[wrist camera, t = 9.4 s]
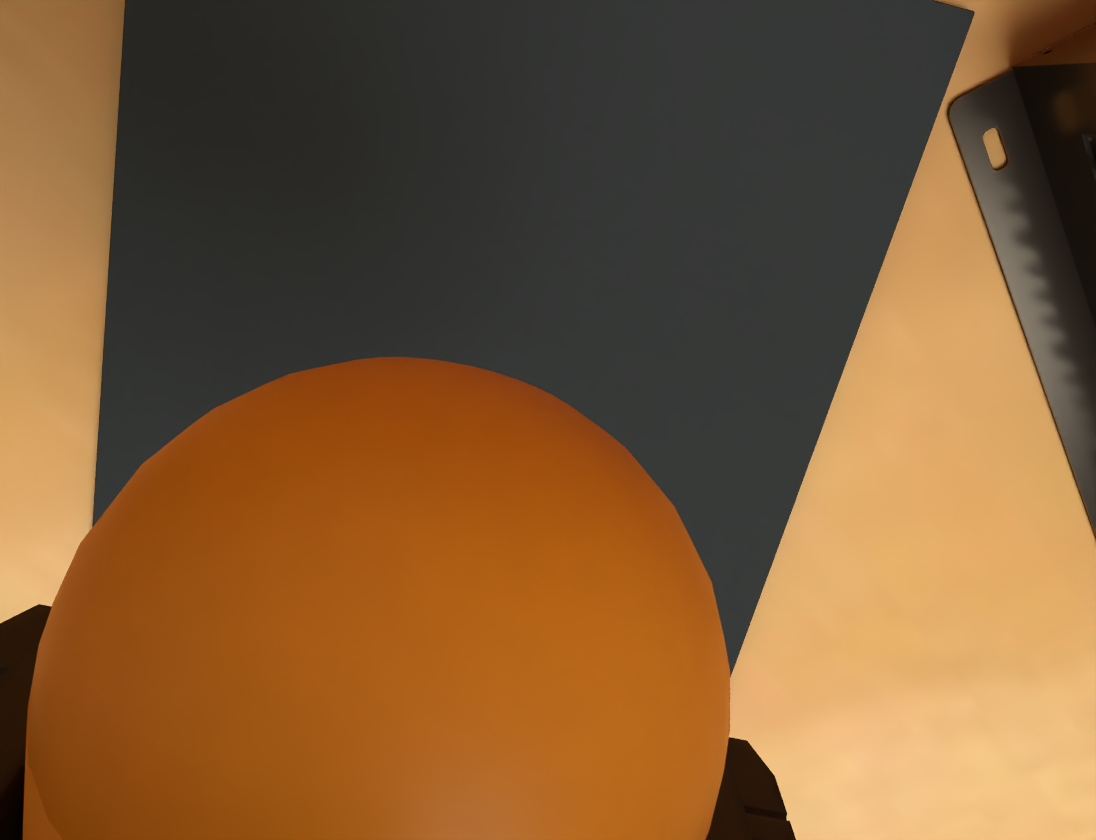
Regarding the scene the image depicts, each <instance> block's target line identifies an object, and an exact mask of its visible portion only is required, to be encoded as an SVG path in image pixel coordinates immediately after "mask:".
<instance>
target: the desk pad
mask: <svg viewBox="0 0 1096 840" xmlns="http://www.w3.org/2000/svg"><path fill="white" fill-rule="evenodd" d="M973 16H974V11H971V10H967V9H963V8H960V7H956V6H952V5H949V4H945V3H941V2H938V1H934V0H125V13H124V29H123V45H122V61H121V77H120V93H119V109H118V125H117V142H116V158H115V174H114V190H113V206H112V222H111V238H110V254H109V270H108V286H107V302H106V318H105V334H104V350H103V366H102V382H101V398H100V414H99V430H98V446H97V462H96V478H95V494H94V510H93V526H94V525H95V524H96V522H97V521H98V520H99V518H100V517H101V516H102V515H103V513H104V512H105V511H106V509H107V508H108V507H109V506H110V504H111V503H112V502H113V501H114V499H115V498H116V497H117V495H118V494H119V493H120V492H121V490H122V489H123V488H124V487H125V485H126V484H127V483H128V481H129V480H130V479H131V478H132V476H133V475H134V474H135V473H136V471H137V470H138V469H139V467H140V466H141V465H142V464H143V463H144V462H145V461H147V460H148V459H149V458H150V457H152V456H153V455H154V454H155V453H157V452H158V451H159V450H160V449H162V448H163V447H164V446H165V445H167V444H168V443H169V442H170V441H172V440H173V439H174V438H175V437H177V436H178V435H179V434H180V433H182V432H183V431H184V430H185V429H187V428H188V427H189V426H190V425H192V424H193V423H194V422H196V421H197V420H199V419H200V418H201V417H203V416H204V415H206V414H207V413H208V412H210V411H211V410H213V409H214V408H216V407H218V406H220V405H222V404H224V403H227V402H229V401H231V400H233V399H235V398H237V397H239V396H241V395H243V394H246V393H248V392H250V391H252V390H254V389H256V388H258V387H260V386H262V385H264V384H267V383H269V382H271V381H274V380H276V379H278V378H281V377H283V376H286V375H288V374H292V373H296V372H300V371H304V370H309V369H313V368H318V367H323V366H328V365H333V364H338V363H343V362H348V361H353V360H359V359H367V358H376V357H410V358H425V359H433V360H440V361H448V362H453V363H458V364H463V365H469V366H473V367H477V368H481V369H485V370H489V371H493V372H496V373H499V374H502V375H505V376H508V377H512V378H515V379H517V380H520V381H522V382H525V383H527V384H530V385H532V386H535V387H537V388H539V389H541V390H543V391H545V392H547V393H549V394H552V395H554V396H555V397H557V398H559V399H560V400H562V401H563V402H565V403H567V404H568V405H570V406H571V407H573V408H574V409H576V410H577V411H578V412H580V413H581V414H582V415H584V416H585V417H587V418H588V419H589V420H591V421H592V422H593V423H595V424H596V425H598V426H599V427H600V428H602V429H603V430H604V431H606V432H607V433H608V434H610V435H611V436H612V437H613V438H615V439H616V440H617V441H618V442H619V443H621V444H622V445H623V446H624V447H626V449H627V450H628V451H629V452H630V453H631V454H632V456H633V457H634V458H635V459H636V460H637V461H638V463H639V464H640V465H641V466H642V467H643V469H644V470H645V471H646V472H647V474H648V475H649V476H650V477H651V478H652V480H653V481H654V482H655V483H656V485H657V486H658V487H659V488H660V489H661V491H662V492H663V493H664V494H665V495H666V497H667V498H668V499H669V500H670V502H671V503H672V504H673V505H674V506H675V508H676V510H677V512H678V514H679V516H680V518H681V520H682V522H683V524H684V526H685V528H686V530H687V532H688V534H689V536H690V538H691V541H692V543H693V545H694V547H695V549H696V551H697V553H698V555H699V557H700V559H701V561H702V563H703V565H704V567H705V569H706V571H707V573H708V575H709V578H710V580H711V582H712V586H713V591H714V595H715V599H716V604H717V608H718V612H719V617H720V621H721V625H722V630H723V634H724V639H725V645H726V651H727V657H728V662H729V668H730V677H731V674H732V671H733V669H734V666H735V663H736V660H737V658H738V655H739V652H740V650H741V647H742V644H743V641H744V639H745V636H746V633H747V631H748V628H749V625H750V622H751V620H752V617H753V614H754V612H755V609H756V606H757V603H758V601H759V598H760V595H761V592H762V590H763V587H764V584H765V582H766V579H767V576H768V573H769V571H770V568H771V565H772V563H773V560H774V557H775V554H776V552H777V549H778V546H779V544H780V541H781V538H782V535H783V533H784V530H785V527H786V525H787V522H788V519H789V516H790V514H791V511H792V508H793V505H794V503H795V500H796V497H797V495H798V492H799V489H800V486H801V484H802V481H803V478H804V476H805V473H806V470H807V467H808V465H809V462H810V459H811V457H812V454H813V451H814V448H815V446H816V443H817V440H818V438H819V435H820V432H821V429H822V427H823V424H824V421H825V418H826V416H827V413H828V410H829V408H830V405H831V402H832V399H833V397H834V394H835V391H836V389H837V386H838V383H839V380H840V378H841V375H842V372H843V370H844V367H845V364H846V361H847V359H848V356H849V353H850V351H851V348H852V345H853V342H854V340H855V337H856V334H857V331H858V329H859V326H860V323H861V321H862V318H863V315H864V312H865V310H866V307H867V304H868V302H869V299H870V296H871V293H872V291H873V288H874V285H875V283H876V280H877V277H878V274H879V272H880V269H881V266H882V264H883V261H884V258H885V255H886V253H887V250H888V247H889V244H890V242H891V239H892V236H893V234H894V231H895V228H896V225H897V223H898V220H899V217H900V215H901V212H902V209H903V206H904V204H905V201H906V198H907V196H908V193H909V190H910V187H911V185H912V182H913V179H914V177H915V174H916V171H917V168H918V166H919V163H920V160H921V157H922V155H923V152H924V149H925V147H926V144H927V141H928V138H929V136H930V133H931V130H932V128H933V125H934V122H935V119H936V117H937V114H938V111H939V109H940V106H941V103H942V100H943V98H944V95H945V92H946V89H947V87H948V84H949V81H950V79H951V76H952V73H953V70H954V68H955V65H956V62H957V60H958V57H959V54H960V51H961V49H962V46H963V43H964V41H965V38H966V35H967V32H968V30H969V27H970V24H971V22H972V19H973ZM93 526H92V528H93Z"/></svg>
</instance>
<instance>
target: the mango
mask: <svg viewBox="0 0 1096 840" xmlns="http://www.w3.org/2000/svg"><path fill="white" fill-rule="evenodd" d="M729 732H730V668H729V662H728V657H727V651H726V645H725V639H724V634H723V630H722V625H721V621H720V617H719V612H718V608H717V604H716V599H715V595H714V591H713V586H712V582H711V580H710V578H709V575H708V573H707V571H706V569H705V567H704V565H703V563H702V561H701V559H700V557H699V555H698V553H697V551H696V549H695V547H694V545H693V543H692V541H691V538H690V536H689V534H688V532H687V530H686V528H685V526H684V524H683V522H682V520H681V518H680V516H679V514H678V512H677V510H676V508H675V506H674V505H673V504H672V503H671V502H670V500H669V499H668V498H667V497H666V495H665V494H664V493H663V492H662V491H661V489H660V488H659V487H658V486H657V485H656V483H655V482H654V481H653V480H652V478H651V477H650V476H649V475H648V474H647V472H646V471H645V470H644V469H643V467H642V466H641V465H640V464H639V463H638V461H637V460H636V459H635V458H634V457H633V456H632V454H631V453H630V452H629V451H628V450H627V449H626V447H624V446H623V445H622V444H621V443H619V442H618V441H617V440H616V439H615V438H613V437H612V436H611V435H610V434H608V433H607V432H606V431H604V430H603V429H602V428H600V427H599V426H598V425H596V424H595V423H593V422H592V421H591V420H589V419H588V418H587V417H585V416H584V415H582V414H581V413H580V412H578V411H577V410H576V409H574V408H573V407H571V406H570V405H568V404H567V403H565V402H563V401H562V400H560V399H559V398H557V397H555V396H554V395H552V394H549V393H547V392H545V391H543V390H541V389H539V388H537V387H535V386H532V385H530V384H527V383H525V382H522V381H520V380H517V379H515V378H512V377H508V376H505V375H502V374H499V373H496V372H493V371H489V370H485V369H481V368H477V367H473V366H469V365H463V364H458V363H453V362H448V361H440V360H433V359H425V358H410V357H376V358H367V359H359V360H353V361H348V362H343V363H338V364H333V365H328V366H323V367H318V368H313V369H309V370H304V371H300V372H296V373H292V374H288V375H286V376H283V377H281V378H278V379H276V380H274V381H271V382H269V383H267V384H264V385H262V386H260V387H258V388H256V389H254V390H252V391H250V392H248V393H246V394H243V395H241V396H239V397H237V398H235V399H233V400H231V401H229V402H227V403H224V404H222V405H220V406H218V407H216V408H214V409H213V410H211V411H210V412H208V413H207V414H206V415H204V416H203V417H201V418H200V419H199V420H197V421H196V422H194V423H193V424H192V425H190V426H189V427H188V428H187V429H185V430H184V431H183V432H182V433H180V434H179V435H178V436H177V437H175V438H174V439H173V440H172V441H170V442H169V443H168V444H167V445H165V446H164V447H163V448H162V449H160V450H159V451H158V452H157V453H155V454H154V455H153V456H152V457H150V458H149V459H148V460H147V461H145V462H144V463H143V464H142V465H141V466H140V467H139V469H138V470H137V471H136V473H135V474H134V475H133V476H132V478H131V479H130V480H129V481H128V483H127V484H126V485H125V487H124V488H123V489H122V490H121V492H120V493H119V494H118V495H117V497H116V498H115V499H114V501H113V502H112V503H111V504H110V506H109V507H108V508H107V509H106V511H105V512H104V513H103V515H102V516H101V517H100V518H99V520H98V521H97V522H96V524H95V525H94V526H93V528H92V529H91V530H90V531H89V533H88V534H87V535H86V537H85V538H84V539H83V540H82V542H81V543H80V545H79V547H78V549H77V551H76V554H75V556H74V558H73V560H72V562H71V565H70V567H69V569H68V571H67V573H66V576H65V578H64V580H63V582H62V584H61V586H60V589H59V591H58V593H57V595H56V597H55V600H54V602H53V605H52V608H51V611H50V614H49V617H48V619H47V622H46V625H45V628H44V631H43V634H42V637H41V640H40V643H39V646H38V652H37V658H36V663H35V669H34V675H33V681H32V686H31V692H30V698H29V703H28V713H27V732H26V754H25V783H24V812H23V840H706V837H707V835H708V832H709V829H710V825H711V821H712V817H713V813H714V809H715V805H716V801H717V797H718V793H719V789H720V785H721V781H722V777H723V773H724V767H725V760H726V753H727V746H728V739H729Z"/></svg>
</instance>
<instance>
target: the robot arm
mask: <svg viewBox="0 0 1096 840" xmlns="http://www.w3.org/2000/svg"><path fill="white" fill-rule="evenodd" d="M51 608H52V607H50V606H45V605H40V604H39V605H37V606H34V607H32V608H30V609H28V610H26V611H24V612H22V613H20V614H18V615H16V616H14V617H12V618H10V619H8V620H6V621H4V622H2V623H0V840H23V812H24V783H25V754H26V732H27V713H28V703H29V698H30V692H31V686H32V681H33V675H34V669H35V663H36V658H37V652H38V646H39V643H40V640H41V637H42V634H43V631H44V628H45V625H46V622H47V619H48V617H49V614H50V611H51ZM786 816H787V812H786V809H785V806H784V803H783V800H782V797H781V794H780V791H779V788H778V785H777V782H776V779H775V776H774V775H773V773H772V772H771V771H770V770H769V768H768V767H767V766H766V764H765V763H764V762H763V761H762V759H761V758H760V757H759V755H758V754H757V753H756V752H755V750H754V749H753V748H752V747H751V745H750V744H749V743H748V741H746V740H740V739H735V738H730V737H729V739H728V746H727V753H726V760H725V767H724V773H723V777H722V781H721V785H720V789H719V793H718V797H717V801H716V805H715V809H714V813H713V817H712V821H711V825H710V829H709V832H708V835H707V837H706V840H796V838H795V836H794V833H793V830H792V827H791V824H790V821H787V820H786Z"/></svg>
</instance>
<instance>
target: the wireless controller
mask: <svg viewBox="0 0 1096 840" xmlns="http://www.w3.org/2000/svg"><path fill="white" fill-rule="evenodd" d="M1012 69H1013V70H1011V71H1009V72H1007V73H1005V74H1003V75H1001V76H999V77H997V78H996V79H994V80H992V81H990V82H988V83H986V84H984V85H982V86H980V87H978V88H976V89H975V90H973V91H971V92H969V93H967V94H965V95H963V96H961V97H959V98H958V99H956V100H955V101H954V102H953V104H952V105H951V107H950V110H949V121H950V123H951V126H952V129H953V132H954V135H955V138H956V140H957V143H958V146H959V149H960V152H961V155H962V158H963V160H964V163H965V166H966V169H967V172H968V175H969V178H970V180H971V183H972V186H973V189H974V192H975V195H976V198H977V200H978V203H979V206H980V209H981V212H982V215H983V217H984V220H985V223H986V226H987V229H988V232H989V235H990V237H991V240H992V243H993V246H994V249H995V252H996V255H997V257H998V260H999V263H1000V266H1001V269H1002V272H1003V275H1004V277H1005V280H1006V283H1007V286H1008V289H1009V292H1010V294H1011V297H1012V300H1013V303H1014V306H1015V309H1016V312H1017V314H1018V317H1019V320H1020V323H1021V326H1022V329H1023V332H1024V334H1025V337H1026V340H1027V343H1028V346H1029V349H1030V352H1031V354H1032V357H1033V360H1034V363H1035V366H1036V369H1037V371H1038V374H1039V377H1040V380H1041V383H1042V386H1043V389H1044V391H1045V394H1046V397H1047V400H1048V403H1049V406H1050V409H1051V411H1052V414H1053V417H1054V420H1055V423H1056V426H1057V429H1058V431H1059V434H1060V437H1061V440H1062V443H1063V446H1064V448H1065V451H1066V454H1067V457H1068V460H1069V463H1070V466H1071V468H1072V471H1073V474H1074V477H1075V480H1076V483H1077V486H1078V488H1079V491H1080V494H1081V497H1082V500H1083V503H1084V506H1085V508H1086V511H1087V514H1088V517H1089V520H1090V523H1091V526H1092V528H1093V531H1094V534H1095V537H1096V23H1094V24H1093V25H1091V26H1089V27H1087V28H1085V29H1083V30H1081V31H1079V32H1077V33H1075V34H1073V35H1072V36H1070V37H1068V38H1066V39H1064V40H1062V41H1060V42H1058V43H1056V44H1054V45H1052V46H1051V47H1049V48H1047V49H1045V50H1043V51H1041V52H1039V53H1037V54H1035V55H1033V56H1031V57H1030V58H1028V59H1026V60H1024V61H1022V62H1020V63H1018V64H1016V65H1014V66H1012ZM994 127H995V128H997V129H998V131H999V134H1000V137H1001V140H1002V143H1003V146H1004V149H1005V152H1006V155H1007V158H1008V162H1007V165H1006V166H1005V167H1004V168H1002V169H1000V170H997V171H995V170H994V169H993V168H992V165H991V162H990V160H989V157H988V154H987V151H986V148H985V145H984V142H983V134H984V133H985V132H986V131H987V130H989V129H991V128H994Z"/></svg>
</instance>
